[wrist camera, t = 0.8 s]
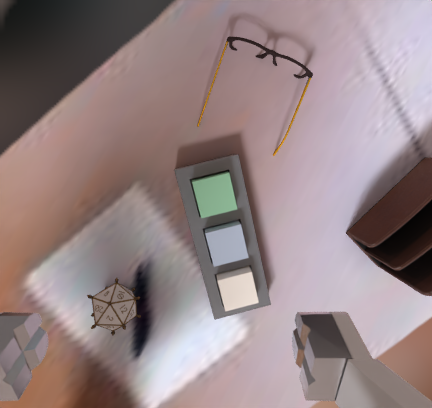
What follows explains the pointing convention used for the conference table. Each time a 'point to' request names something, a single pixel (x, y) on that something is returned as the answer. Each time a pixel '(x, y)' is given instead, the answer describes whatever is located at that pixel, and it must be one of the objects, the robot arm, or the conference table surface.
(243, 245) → the slate blue button
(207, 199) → the green button
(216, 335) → the conference table surface
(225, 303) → the cream button
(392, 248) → the letter holder
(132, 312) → the game die
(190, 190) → the button panel
